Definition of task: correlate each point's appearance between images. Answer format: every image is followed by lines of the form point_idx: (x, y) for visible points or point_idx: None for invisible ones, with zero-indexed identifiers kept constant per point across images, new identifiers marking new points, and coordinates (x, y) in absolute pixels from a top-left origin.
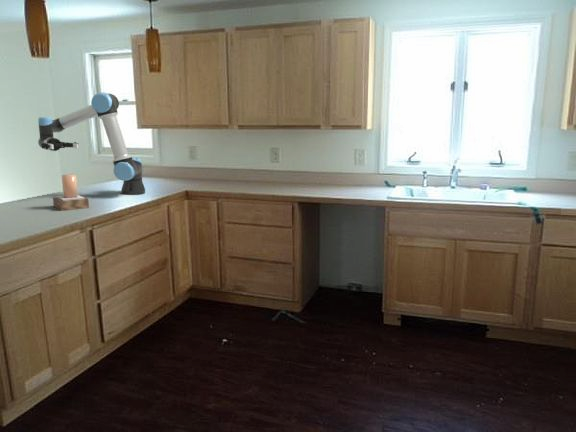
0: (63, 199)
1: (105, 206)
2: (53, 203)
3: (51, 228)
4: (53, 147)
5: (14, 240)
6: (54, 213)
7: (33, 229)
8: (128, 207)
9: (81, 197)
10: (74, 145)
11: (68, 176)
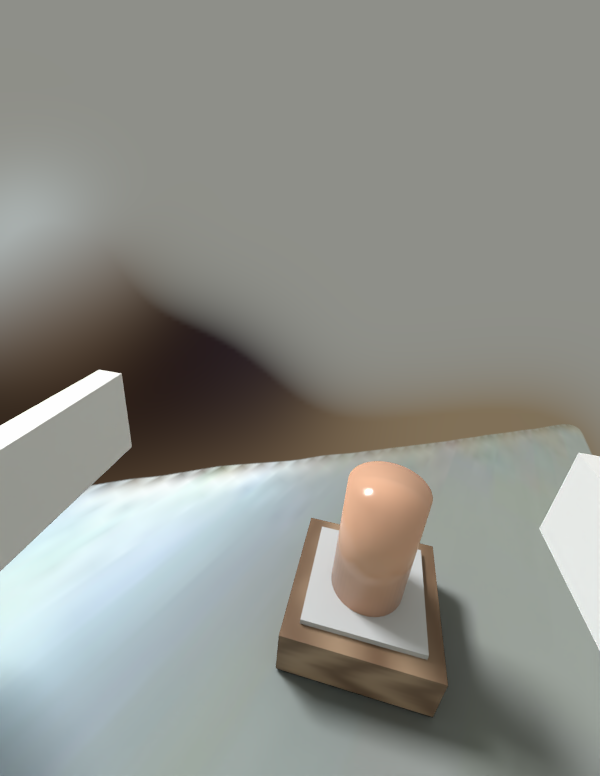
0: (418, 551)
1: (237, 532)
2: (437, 704)
3: (490, 440)
4: (553, 502)
5: (562, 425)
6: (458, 560)
7: (531, 454)
8: (204, 472)
9: (330, 537)
10: (16, 492)
11: (404, 468)
